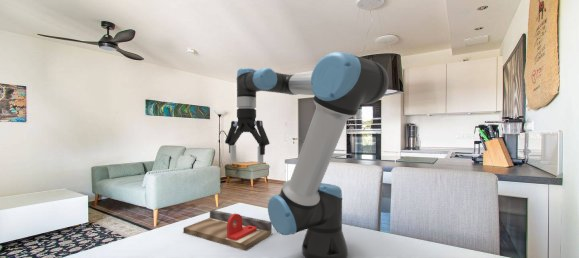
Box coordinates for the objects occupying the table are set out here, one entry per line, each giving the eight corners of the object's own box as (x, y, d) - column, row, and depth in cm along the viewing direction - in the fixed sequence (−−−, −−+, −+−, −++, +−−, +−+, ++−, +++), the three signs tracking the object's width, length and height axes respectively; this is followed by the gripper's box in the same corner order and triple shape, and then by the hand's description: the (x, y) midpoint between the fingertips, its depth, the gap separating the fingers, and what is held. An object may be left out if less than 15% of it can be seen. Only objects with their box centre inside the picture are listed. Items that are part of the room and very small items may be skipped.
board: (271, 234, 103) (271, 221, 103) (245, 250, 89) (246, 236, 89) (213, 220, 119) (213, 209, 119) (183, 232, 105) (183, 220, 105)
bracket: (236, 241, 92) (236, 218, 92) (226, 238, 94) (227, 216, 94) (257, 230, 102) (257, 210, 102) (249, 227, 104) (249, 208, 104)
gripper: (278, 107, 99) (278, 163, 99) (229, 110, 111) (228, 159, 111) (267, 106, 93) (267, 165, 92) (216, 109, 105) (216, 161, 105)
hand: (246, 162), depth 102 cm, fingers open, 13 cm apart
